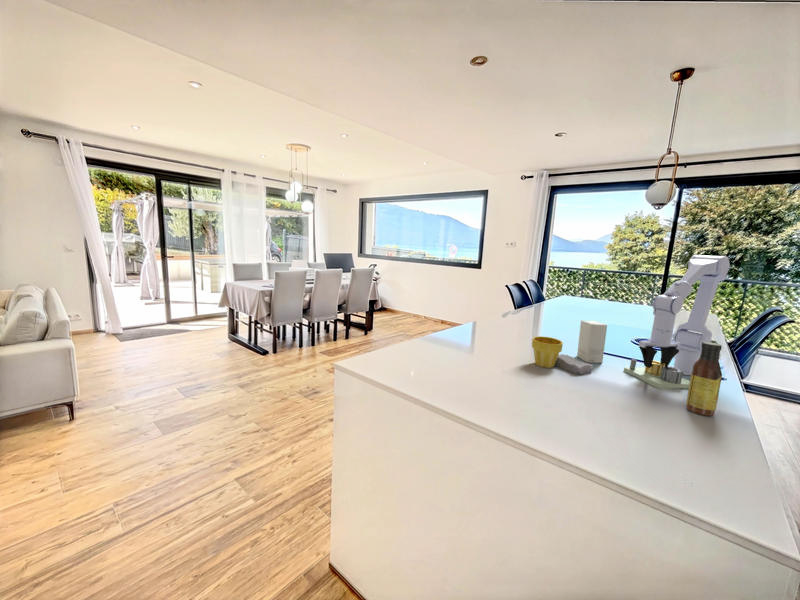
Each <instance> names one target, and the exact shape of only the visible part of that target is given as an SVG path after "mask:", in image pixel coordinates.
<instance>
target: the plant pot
mask: <svg viewBox="0 0 800 600" xmlns="http://www.w3.org/2000/svg"><path fill="white" fill-rule="evenodd" d="M531 342H532V343H531V346H532V347H531V348H533V356H534V364H535V365H536V366H538V367H540V368H546V369H552V368H554V367H555V362H556V360H557V357H558V355H560V353H561V352H562V350H563V344H564V343H563V342H562V341H561V340H560V339H558V338H554V337H549V336H542V335H541V336H534V337H532V341H531Z"/></svg>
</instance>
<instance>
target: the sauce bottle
mask: <svg viewBox="0 0 800 600" xmlns="http://www.w3.org/2000/svg"><path fill="white" fill-rule="evenodd" d="M701 347H702V351H701V355H700V358H699V360H698V361H696V362H695V363H694V365H693V370H692V373H691V375H690V380H689V381H690V385H689V388H688V392H687V397H686V404H685V407H686V409H688V411H690V412H692V413H695V414H698V415H701V416H707V417H712V416H714V414H715V411H716V410H717V404H718V399H719V394H720V391H721V390H720V388H721V383H722V378H723V373H722V369H721V365H720V361H719V360H720V358H719V357H720V353H721V350H722V348H723V347H722V345H721V344H720V343H716V342H712V341H711V342H702V345H701Z"/></svg>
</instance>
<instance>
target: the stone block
mask: <svg viewBox="0 0 800 600" xmlns="http://www.w3.org/2000/svg"><path fill="white" fill-rule="evenodd" d="M555 366H556V367H558V368H560V369H561V370H562V369H563V370H566V371H567V372H570V373H572V374H575V375H578V376H581V375H584V374H591V373H592V371H593V363H589V362H586V361H581V360H578V359H577V358H575V357H573V356H570V355H568V354H564V353H563V354H560V353H559V355H558V357H557V360H556V362H555V365H554V367H555Z"/></svg>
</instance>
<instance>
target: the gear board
mask: <svg viewBox="0 0 800 600" xmlns="http://www.w3.org/2000/svg"><path fill="white" fill-rule="evenodd" d="M636 365H637V359H633V358H631V359H630V365H629V366H628V367H624V368H623V372H624V371H625V372H624V373H626V372H627V373H626V374H628V373H629V374H628V375H630V374H631V376H632V375H633V377H634V376H635V378H636V377H637V378H636V379H638V378H639V380H640V379H641V381H642V380H643V381H642V382H644V381H645V383H647V384H649V385H650V386H652V387H655V388H656V389H659V388H660V389H661V388H662V389H664V390H665V389H667V390H669V389H670V390H671V389H673V388H677V389H678V388H684V389H689V385H690V380H688V379H686V378H683V377H682V380H681V383H679V384H676V383H669V382H667V381H663V380H662V379H660V376H661V375H658V376H656V375H653V374H649V373H647V372H645V367H637V366H636ZM669 370H673V371H675V370H676V368H674V367H670V369H669Z"/></svg>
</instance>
